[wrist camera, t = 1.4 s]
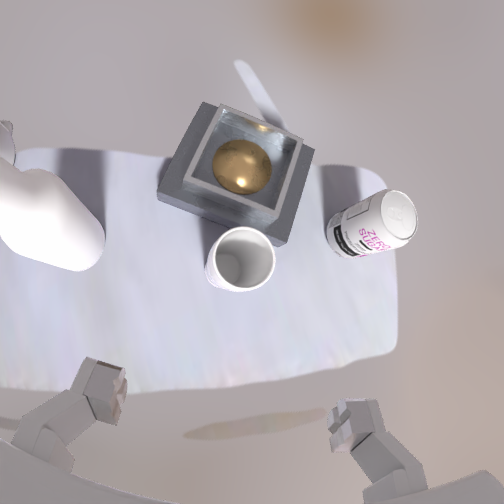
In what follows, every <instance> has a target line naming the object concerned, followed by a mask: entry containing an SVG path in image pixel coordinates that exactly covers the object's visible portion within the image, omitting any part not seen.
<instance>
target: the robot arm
mask: <svg viewBox="0 0 504 504" xmlns="http://www.w3.org/2000/svg"><path fill="white" fill-rule="evenodd" d="M12 129H13V125H12V123H11V122H10V121H0V156H1V157H2V158H4V159H5V160H6V161H8V162H9V163H10V164H12V165H13V164H14V159H15V145H14V142H13V139H12ZM125 374H126V373H125V368H123V367H119V366H115V365H112V364H109V363H105V362H102V361H99V360H96V359H92V358H89V357H86V358H85V359H84V360H83V362H82V365H81V367H80V369H79V371H78V373H77V375H76V377H75V379H74V382H73V384H72V386H71V388H70V390H67V389H66V390H64V391H63V392H61V393H59V394H58V395H56V396H55V397H53V398H52V399H50V400H48V401H47V402H45V403H43V404H42V405H40V406H38V407H37V408H35V409H34V410H32V411H30V412H29V413H27V414H26V415H24V416H23V417H22V419H21V421H20V424H19V426H18V428H17V430H16V433H15V435H14V437H13V440H12V442H11V444H10V443H8V442H6V441H5V440H3V439H1V438H0V504H180V503H175V502H169V501H164V500H159V499H155V498H150V497H146V496H142V495H138V494H134V493H130V492H127V491H123V490H120V489H116V488H113V487H109V486H107V485H104V484H100V483H98V482H95V481H92V480H89V479H86V478H83V477H80V476H78V475H75V474H73V473H71V472H72V468H73V465H74V461H75V459H74V456H73V455H72V454H71V453H70V451H69V450H68V449H67V448H66V446H67V445H69V444H70V443H71V442H72V441H73V440H75V439H76V438H77V437H78V436H79V435H80V434H82V433H83V432H84V431H85V430H86V429H88V428H89V427H90V426H91V425H92V424H94V423H95V422H96V420H98V421H101V422H105V423H109V424H112V425H117V423H118V420H119V417H120V414H121V409H120V405H121V404H122V403H124V401H125V398H126V393H127V380H126V379H125V378H124V376H125ZM327 424H328V430H329V431H330V432H331V433H332V436H331V437H330V445H331V451H332V452H350V454H351V455H352V457H353V458H354V459H355V460H356V462H357V463H358V464H359V466H360V467H361V469H362V470H363V471H364V472H365V474H366V475H367V476H368V478H369V479H370V480H371V482H372V483H373V484H372V485H370V486H368V487H367V488H365V489H364V490H363V498H364V504H504V488H503V485H502V484H501V483H500V482H499V481H498V480H497V479H496V478H495V477H494V476H493V475H492V474H490V473H489V472H488V471H486V470H480V471H478V472H475V473H472V474H470V475H467V476H465V477H463V478H460V479H457V480H454V481H451V482H448V483H446V484H443V485H440V486H436V487H433V488H430V489H428V486H427V482H426V478H425V474H424V470H423V467H422V464H421V463H420V462H419V461H418V460H417V459H416V458H415V457H414V456H413V455H412V454H411V453H410V452H409V451H408V450H407V449H406V448H405V447H404V446H403V445H402V444H401V443H400V442H399V441H398V440H397V439H396V438H395V437H394V436H393V435H392V434H391V433H390V432H389V431H388V432H386V430H385V426H384V422H383V419H382V415H381V412H380V408H379V405H378V402H377V400H376V399H374V398H369V399H363V398H360V399H359V398H353V399H350V398H349V399H340V400H339V401H338V402H337V407H335V408H333V409H332V410H331V411H330V413H329V416H328V421H327Z"/></svg>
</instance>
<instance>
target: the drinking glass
mask: <svg viewBox="0 0 504 504" xmlns="http://www.w3.org/2000/svg"><path fill="white" fill-rule="evenodd" d="M274 267H275V252H274V248H273V246H272V244H271V242H270V240H269V239H268V238H267V237H266V236H265V235H264V234H263V233H262V232H260V231H259V230H257V229H254V228H251V227H245V226H241V227H235V228H232V229H230V230H228V231H226V232H225V233H223V234H222V235H221V236H220V237H219V238H218V239H217V240H216V241H215V243H214V244H213V246H212V247H211V249H210V252H209V255H208V259H207V262H206V265H205V275H206V278H207V279H208V281H209V282H210V283H211V284H212V285H213V286H215V287H218V288H223V289H225V290H228V291H233V292H244V291H249V290H253V289H256V288H258V287H260V286H261V285H263V284H264V283H265V282H266V281H267V280H268V279H269V278H270V276H271V275H272V273H273V270H274Z"/></svg>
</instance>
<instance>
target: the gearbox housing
mask: <svg viewBox="0 0 504 504" xmlns="http://www.w3.org/2000/svg"><path fill="white" fill-rule="evenodd" d="M302 143H303V139H302V138H300V137H298V136H295V135H293V134H291V133H289V132H287V131H285V130H283V129H280V128H278V127H276V126H274V125H271V124H269V123H267V122H265V121H262V120H260V119H258V118H255V117H253V116H250V115H248V114H246V113H243V112H241V111H238V110H236V109H233V108H231V107H228V106H225V105H223V104H220V106H219V107H216V106H213V105H210V104H208V103H205V102H202V104H201V106H200V108H199V110H198V111H197V113H196V115H195V117H194V118H193V120H192V122H191V124H190V126H189V128H188V130H187V131H186V133H185V135H184V137H183V139H182V141H181V143H180V145H179V146H178V149H177V151H176V152H175V155H174V156H173V158H172V160H171V162H170V164H169V166H168V168H167V170H166V173H165V175H164V177H163V179H162V181H161V183H160V185H159V187H158V189H157V197H158V200H159V201H162V202H164V203H167V204H170V205H172V206H175V207H177V208H180V209H182V210H185V211H188V212H190V213H193V214H195V215H198V216H200V217H203V218H205V219H208V220H211V221H213V222H216V223H218V224H221V225H223V226H226V227H228V228H231V229H232V228H235V227H241V226H245V227H251V228H254V229H257V230H259V231H260V232H262V233H263V234H264V235H265V236H266V237H267V238H268V239H269V240H270V242H271V244H272V245H273V246H276V247H280V246H282V245H284V244H286V243H287V241H288V237H289V234H290V231H291V228H292V225H293V221H294V218H295V215H296V211H297V208H298V205H299V202H300V198H301V195H302V192H303V188H304V185H305V182H306V178H307V175H308V171H309V168H310V164H311V161H312V158H313V154H314V151H315V149H313V148H311V147H308V146H307V145H304V144H302Z"/></svg>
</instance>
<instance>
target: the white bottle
mask: <svg viewBox="0 0 504 504" xmlns="http://www.w3.org/2000/svg"><path fill="white" fill-rule="evenodd" d="M0 236H1V238H2V239H3V240H4V242H5V243H6V244H7V245H8V246H9V247H10V248H11V249H12V250H13V251H14V252H16V253H18V254H20V255H23V256H26V257H29V258H32V259H35V260H38V261H42V262H45V263H48V264H51V265H55V266H58V267H61V268H65V269H68V270H72V271H83V270H86V269H88V268H90V267H92V266H93V265H94V264H95V263H96V262H97V261H98V260H99V258H100V257H101V255H102V253H103V250H104V246H105V234H104V230H103V228H102V225H101V224H100V222H99V221H98V220H97V219H96V218H95V217H94V215H93V214H92V213H91V212H90V211H89V210H88V209H87V208H86V207H85V206H84V204H83V203H82V202H81V201H80V200H79V199H78V198H77V197H76V195H75V194H74V193H73V192H72V191H71V190H70V189H69V187H68V186H67V185H66V184H65V183H64V182H63V180H61V179H60V178H59V177H58V176H57V175H55V174H53V173H51V172H49V171H46V170H42V169H30V170H26V171H24V172H21V171H20V170H19V169H17V168H16V167H15V166H13V165H12V164H10V163H9V162H8V161H6V160H5V159H4V158H2V157H1V156H0Z"/></svg>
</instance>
